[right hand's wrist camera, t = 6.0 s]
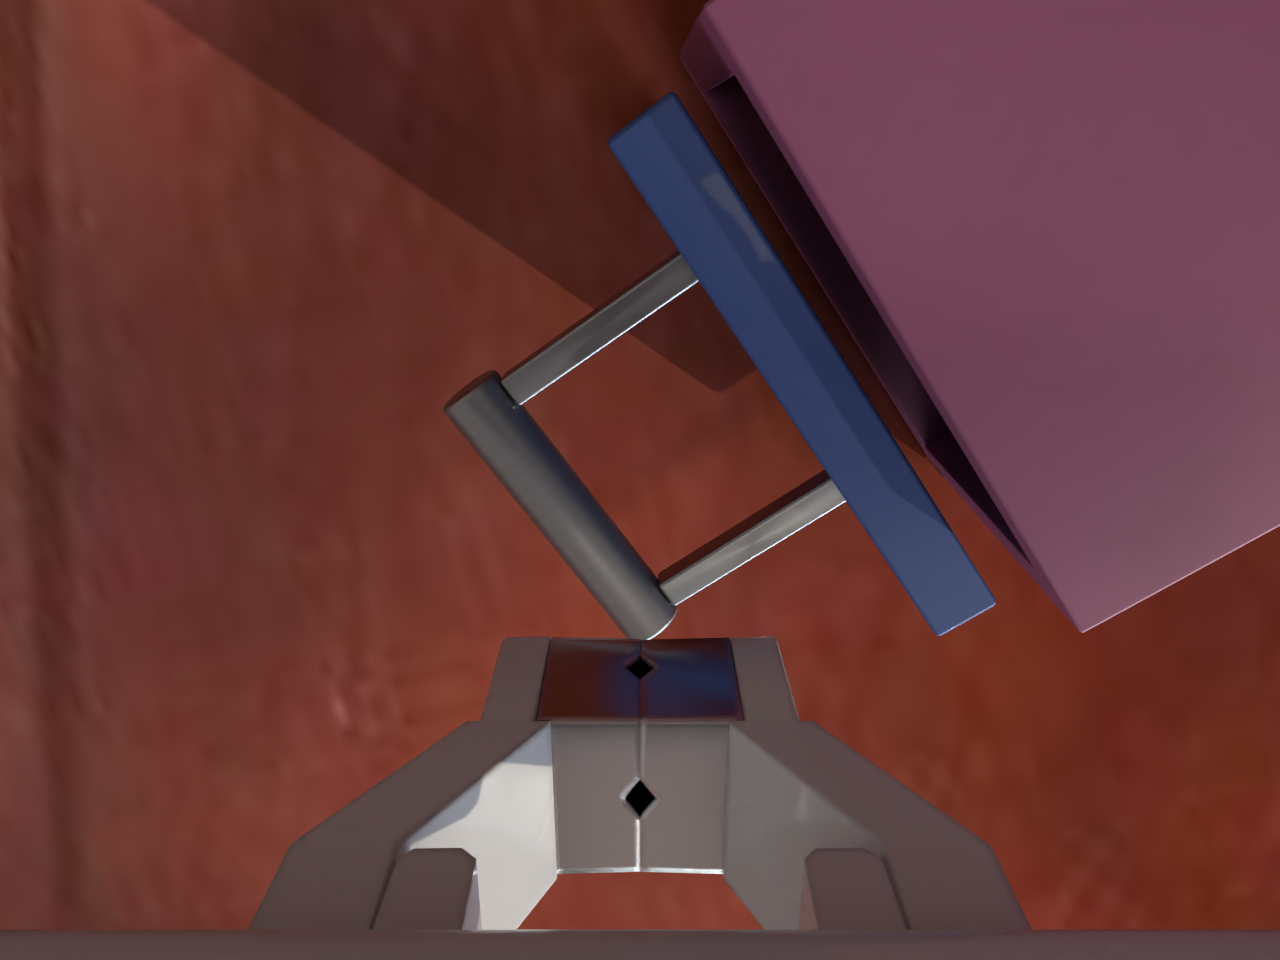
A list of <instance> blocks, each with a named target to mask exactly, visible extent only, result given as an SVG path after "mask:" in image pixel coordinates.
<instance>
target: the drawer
mask: <svg viewBox="0 0 1280 960" xmlns="http://www.w3.org/2000/svg"><path fill="white" fill-rule="evenodd" d="M749 100H750V99H749ZM750 102H751V101H750ZM752 105H753V104H752ZM753 107H754V106H753ZM755 110H756V109H755ZM756 112H757V111H756ZM757 113H758V112H757ZM758 115H759V114H758ZM759 117H760V116H759ZM760 118H761V117H760ZM761 120H762V119H761ZM763 123H764V122H763ZM764 125H765V124H764ZM766 128H767V127H766ZM767 130H768V129H767ZM769 133H770V132H769ZM770 135H771V134H770ZM772 138H773V137H772ZM773 140H774V139H773ZM607 142H608V146H609V148H610V149H611V151H612V152H613V154H614V155H615V157H616V158H617V160H618V161H619V163H620V164H621V166H622V167H623V169H624V170H625V171H626V173H627V174H628V176H629V177H630V179H631V180H632V182H633V183H634V185H635V186H636V188H637V189H638V191H639V192H640V194H641V195H642V197H643V198H644V200H645V201H646V203H647V204H648V206H649V207H650V209H651V210H652V212H653V213H654V215H655V216H656V218H657V219H658V221H659V222H660V224H661V225H662V227H663V228H664V230H665V231H666V233H667V234H668V236H669V237H670V239H671V240H672V242H673V243H674V245H675V246H676V248H677V249H678V251H676V252H675V253H674V254H672V255H671V256H669V257H668V258H667V259H665V260H664V261H662V262H661V263H660V264H658V265H657V266H655V267H654V268H652V269H651V270H650V271H648V272H647V273H645V274H644V275H643V276H641V277H640V278H638V279H637V280H636V281H634V282H633V283H631V284H630V285H629V286H627V287H626V288H624V289H623V290H621V291H620V292H619V293H617V294H616V295H614V296H613V297H612V298H610V299H609V300H607V301H606V302H605V303H603V304H602V305H600V306H599V307H598V308H596V309H595V310H593V311H592V312H590V313H589V314H588V315H586V316H585V317H583V318H582V319H581V320H579V321H578V322H576V323H575V324H574V325H572V326H571V327H569V328H568V329H567V330H565V331H564V332H562V333H561V334H559V335H558V336H557V337H555V338H554V339H552V340H551V341H550V342H548V343H547V344H545V345H544V346H543V347H541V348H540V349H538V350H537V351H536V352H534V353H533V354H531V355H530V356H528V357H527V358H526V359H524V360H523V361H521V362H520V363H519V364H517V365H516V366H514V367H513V368H512V369H510V370H509V371H507V372H506V373H505V374H504V376H503V378H502V377H501V376H500V375H499V373H498V372H496V371H495V370H491V371H488V372H486V373H484V374H482V375H481V376H479V377H478V378H476V379H475V380H473V381H472V382H470V383H469V384H468V385H466V386H465V387H464V388H463V389H461V390H460V391H459V392H458V393H456V394H455V395H454V396H453V397H452V398H451V399H450V400H449V401H448V402H447V403H446V404H445V406H444V408H443V409H444V413H445V414H446V415H447V416H448V418H449V419H450V420H451V421H452V422H453V424H454V425H455V426H456V427H457V429H458V430H459V431H460V432H461V434H462V435H463V436H464V437H465V439H466V440H467V441H468V442H469V443H470V445H471V446H472V447H473V448H474V450H475V451H476V452H477V453H478V455H479V456H480V457H481V458H482V460H483V461H484V462H485V463H486V464H487V466H488V467H489V468H490V469H491V471H492V472H493V473H494V474H495V476H496V477H497V478H498V479H499V481H500V482H501V483H502V484H503V485H504V487H505V488H506V489H507V490H508V492H509V493H510V494H511V495H512V497H513V498H514V499H515V500H516V502H517V503H518V504H519V505H520V507H521V508H522V509H523V510H524V511H525V513H526V514H527V515H528V516H529V518H530V519H531V520H532V521H533V523H534V524H535V525H536V526H537V528H538V529H539V530H540V531H541V532H542V534H543V535H544V536H545V537H546V539H547V540H548V541H549V542H550V544H551V545H552V546H553V547H554V549H555V550H556V551H557V552H558V553H559V555H560V556H561V557H562V558H563V560H564V561H565V562H566V563H567V565H568V566H569V567H570V568H571V570H572V571H573V572H574V573H575V574H576V576H577V577H578V578H579V579H580V581H581V582H582V583H583V584H584V586H585V587H586V588H587V589H588V591H589V592H590V593H591V594H592V595H593V597H594V598H595V599H596V600H597V602H598V603H599V604H600V605H601V607H602V608H603V609H604V610H605V612H606V613H607V614H608V615H609V616H610V618H611V619H612V620H613V621H614V623H615V624H616V625H617V626H618V628H619V629H620V630H621V631H622V633H623V634H624V635H625V636H626V637H627V639H640V640H650V639H652V638H654V637H655V636H657V635H658V634H660V633H661V632H662V631H663V630H664V629H665V628H666V627H667V626H668V625H669V624H670V623H671V622H672V620H673V619H674V617H675V615H676V613H677V605H678V604H679V603H681V602H683V601H684V600H686V599H688V598H689V597H691V596H692V595H694V594H696V593H697V592H699V591H701V590H702V589H704V588H705V587H707V586H709V585H710V584H712V583H714V582H715V581H717V580H719V579H720V578H722V577H723V576H725V575H727V574H728V573H730V572H732V571H733V570H735V569H736V568H738V567H740V566H741V565H743V564H745V563H746V562H748V561H750V560H751V559H753V558H754V557H756V556H758V555H759V554H761V553H763V552H764V551H766V550H768V549H769V548H771V547H772V546H774V545H776V544H777V543H779V542H781V541H782V540H784V539H785V538H787V537H789V536H790V535H792V534H794V533H795V532H797V531H799V530H800V529H802V528H803V527H805V526H807V525H808V524H810V523H812V522H813V521H815V520H816V519H818V518H820V517H821V516H823V515H825V514H826V513H828V512H830V511H831V510H833V509H834V508H836V507H838V506H839V505H841V504H843V503H844V502H847V503H848V505H849V506H850V508H851V509H852V511H853V512H854V514H855V515H856V517H857V518H858V520H859V521H860V523H861V524H862V526H863V527H864V529H865V530H866V532H867V533H868V535H869V536H870V538H871V539H872V541H873V542H874V544H875V545H876V547H877V548H878V550H879V551H880V553H881V554H882V556H883V557H884V559H885V560H886V562H887V563H888V565H889V566H890V567H891V569H892V570H893V572H894V573H895V575H896V576H897V578H898V579H899V581H900V582H901V584H902V585H903V587H904V588H905V590H906V591H907V593H908V594H909V596H910V597H911V599H912V600H913V602H914V603H915V605H916V606H917V608H918V609H919V611H920V612H921V614H922V615H923V617H924V618H925V620H926V621H927V623H928V624H929V626H930V627H931V629H932V630H933V632H934V633H935V634H936V635H938V636H941V635H943V634H945V633H947V632H948V631H950V630H952V629H954V628H955V627H957V626H959V625H961V624H963V623H964V622H966V621H968V620H970V619H971V618H973V617H975V616H977V615H978V614H980V613H982V612H984V611H986V610H987V609H989V608H991V607H993V606H994V605H995V604H996V600H995V598H994V596H993V595H992V593H991V591H990V590H989V588H988V587H987V585H986V583H985V582H984V580H983V579H982V577H981V576H980V574H979V572H978V571H977V569H976V568H975V566H974V565H973V563H972V561H971V560H970V558H969V557H968V555H967V553H966V552H965V550H964V549H963V547H962V546H961V544H960V542H959V541H958V539H957V538H956V536H955V534H954V533H953V531H952V530H951V528H950V527H949V525H948V523H947V522H946V520H945V519H944V517H943V515H942V514H941V512H940V511H939V509H938V508H937V506H936V504H935V503H934V501H933V500H932V498H931V496H930V495H929V493H928V492H927V490H926V489H925V487H924V485H923V484H922V482H921V481H920V479H919V477H918V476H917V474H916V473H915V471H914V470H913V468H912V466H911V465H910V463H909V462H908V460H907V459H906V457H905V455H904V454H903V452H902V451H901V449H900V447H899V446H898V444H897V443H896V441H895V440H894V438H893V436H892V435H891V433H890V432H889V430H888V428H887V427H886V425H885V424H884V422H883V421H882V419H881V417H880V416H879V414H878V413H877V411H876V409H875V408H874V406H873V405H872V403H871V402H870V400H869V398H868V397H867V395H866V394H865V392H864V390H863V389H862V387H861V386H860V384H859V383H858V381H857V379H856V378H855V376H854V375H853V373H852V372H851V370H850V368H849V367H848V365H847V364H846V362H845V360H844V359H843V357H842V356H841V354H840V353H839V351H838V349H837V348H836V346H835V345H834V343H833V341H832V340H831V338H830V337H829V335H828V334H827V332H826V330H825V329H824V327H823V326H822V324H821V322H820V321H819V319H818V318H817V316H816V315H815V313H814V311H813V310H812V308H811V307H810V305H809V303H808V302H807V300H806V299H805V297H804V296H803V294H802V292H801V291H800V289H799V288H798V286H797V284H796V283H795V281H794V280H793V278H792V277H791V275H790V273H789V272H788V270H787V269H786V267H785V266H784V264H783V262H782V261H781V259H780V258H779V256H778V254H777V253H776V251H775V250H774V248H773V247H772V245H771V243H770V242H769V240H768V239H767V237H766V235H765V234H764V232H763V231H762V229H761V228H760V226H759V224H758V223H757V221H756V220H755V218H754V216H753V215H752V213H751V212H750V210H749V209H748V207H747V205H746V204H745V202H744V201H743V199H742V197H741V196H740V194H739V193H738V191H737V190H736V188H735V186H734V185H733V183H732V182H731V180H730V178H729V177H728V175H727V174H726V172H725V171H724V169H723V167H722V166H721V164H720V163H719V161H718V160H717V158H716V156H715V155H714V153H713V152H712V150H711V148H710V147H709V145H708V144H707V142H706V141H705V139H704V137H703V136H702V134H701V133H700V131H699V129H698V128H697V126H696V125H695V123H694V122H693V120H692V118H691V117H690V115H689V114H688V112H687V110H686V109H685V107H684V106H683V104H682V103H681V101H680V99H679V98H678V96H677V95H676V94H675V93H673V92H671V93H668V94H667V95H665V96H664V97H663V98H661V99H660V100H659V101H657V102H656V103H655V104H653V105H652V106H651V107H649V108H648V109H647V110H645V111H644V112H643V113H642V114H640V115H639V116H638V117H636V118H635V119H634V120H632V121H631V122H630V123H628V124H627V125H626V126H624V127H623V128H622V129H620V130H619V131H618V132H616V133H615V134H614V135H612V136H611V137H610V138H609V140H608V141H607ZM775 143H776V142H775ZM776 145H777V144H776ZM777 146H778V145H777ZM778 148H779V147H778ZM780 151H781V150H780ZM781 153H782V152H781ZM783 156H784V155H783ZM784 158H785V157H784ZM786 161H787V160H786ZM787 163H788V162H787ZM789 166H790V165H789ZM790 168H791V167H790ZM792 171H793V170H792ZM793 173H794V172H793ZM794 174H795V173H794ZM795 176H796V175H795ZM797 179H798V178H797ZM798 181H799V180H798ZM800 184H801V183H800ZM801 186H802V185H801ZM803 189H804V188H803ZM804 191H805V190H804ZM806 194H807V193H806ZM807 196H808V195H807ZM809 199H810V198H809ZM810 201H811V200H810ZM812 204H813V203H812ZM814 207H815V206H814ZM815 209H816V208H815ZM817 212H818V211H817ZM818 214H819V213H818ZM820 217H821V216H820ZM821 219H822V218H821ZM823 222H824V221H823ZM824 224H825V223H824ZM826 227H827V226H826ZM827 229H828V228H827ZM829 232H830V231H829ZM830 234H831V233H830ZM831 235H832V234H831ZM832 237H833V236H832ZM834 240H835V239H834ZM835 242H836V241H835ZM837 245H838V244H837ZM838 247H839V246H838ZM840 250H841V249H840ZM841 252H842V251H841ZM843 255H844V254H843ZM844 257H845V256H844ZM846 260H847V259H846ZM847 262H848V261H847ZM848 263H849V262H848ZM849 265H850V264H849ZM851 268H852V267H851ZM852 270H853V269H852ZM854 273H855V272H854ZM855 275H856V274H855ZM857 278H858V277H857ZM858 280H859V279H858ZM698 282H700V284H701V285H702V287H703V288H704V290H705V291H706V293H707V294H708V296H709V297H710V299H711V300H712V302H713V303H714V304H715V306H716V307H717V309H718V310H719V312H720V313H721V315H722V316H723V318H724V319H725V321H726V322H727V324H728V325H729V327H730V328H731V330H732V331H733V333H734V334H735V336H736V337H737V339H738V340H739V342H740V343H741V345H742V346H743V348H744V349H745V351H746V352H747V354H748V355H749V357H750V358H751V360H752V361H753V363H754V364H755V366H756V367H757V369H758V370H759V372H760V373H761V375H762V376H763V378H764V379H765V381H766V382H767V384H768V385H769V387H770V388H771V390H772V391H773V393H774V394H775V396H776V397H777V399H778V400H779V402H780V403H781V405H782V406H783V408H784V409H785V411H786V412H787V414H788V415H789V417H790V418H791V420H792V421H793V423H794V424H795V426H796V427H797V429H798V430H799V432H800V433H801V434H802V436H803V437H804V439H805V440H806V442H807V443H808V445H809V446H810V448H811V449H812V451H813V452H814V454H815V455H816V457H817V458H818V460H819V461H820V463H821V464H822V466H823V467H824V469H825V470H823V471H822V472H820V473H819V474H817V475H815V476H814V477H812V478H811V479H809V480H807V481H806V482H804V483H803V484H801V485H799V486H798V487H796V488H795V489H793V490H791V491H790V492H788V493H786V494H785V495H783V496H782V497H780V498H778V499H777V500H775V501H774V502H772V503H770V504H769V505H767V506H766V507H764V508H762V509H761V510H759V511H758V512H756V513H754V514H753V515H751V516H750V517H748V518H746V519H745V520H743V521H742V522H740V523H738V524H737V525H735V526H734V527H732V528H730V529H729V530H727V531H726V532H724V533H722V534H721V535H719V536H718V537H716V538H714V539H713V540H711V541H710V542H708V543H706V544H705V545H703V546H702V547H700V548H698V549H697V550H695V551H694V552H692V553H690V554H689V555H687V556H686V557H684V558H682V559H681V560H679V561H678V562H676V563H674V564H673V565H671V566H670V567H668V568H666V569H665V570H663V571H662V572H660V573H659V574H658V579H657V577H656V576H655V575H654V573H653V572H652V571H651V570H650V568H649V567H648V566H647V564H646V563H645V562H644V560H643V559H642V558H641V557H640V555H639V554H638V553H637V551H636V550H635V549H634V548H633V546H632V545H631V544H630V542H629V541H628V540H627V539H626V537H625V536H624V535H623V533H622V532H621V531H620V530H619V528H618V527H617V526H616V524H615V523H614V522H613V520H612V519H611V518H610V517H609V515H608V514H607V513H606V511H605V510H604V509H603V508H602V506H601V505H600V504H599V502H598V501H597V500H596V499H595V497H594V496H593V495H592V493H591V492H590V491H589V490H588V488H587V487H586V486H585V484H584V483H583V482H582V480H581V479H580V478H579V477H578V475H577V474H576V473H575V471H574V470H573V469H572V468H571V466H570V465H569V464H568V462H567V461H566V460H565V459H564V457H563V456H562V455H561V453H560V452H559V451H558V449H557V448H556V447H555V446H554V444H553V443H552V442H551V440H550V439H549V438H548V437H547V435H546V434H545V433H544V431H543V430H542V429H541V428H540V426H539V425H538V424H537V422H536V421H535V420H534V419H533V417H532V416H531V415H530V413H529V412H528V411H527V409H526V408H525V407H524V406H523V404H524V403H525V402H527V401H528V400H530V399H531V398H533V397H534V396H536V395H537V394H538V393H540V392H541V391H543V390H544V389H546V388H547V387H548V386H550V385H551V384H553V383H554V382H556V381H557V380H558V379H560V378H561V377H563V376H564V375H566V374H567V373H569V372H570V371H571V370H573V369H574V368H576V367H577V366H579V365H580V364H581V363H583V362H584V361H586V360H587V359H589V358H590V357H591V356H593V355H594V354H596V353H597V352H599V351H600V350H602V349H603V348H604V347H606V346H607V345H609V344H610V343H612V342H613V341H614V340H616V339H617V338H619V337H620V336H622V335H623V334H624V333H626V332H627V331H629V330H630V329H632V328H633V327H635V326H636V325H637V324H639V323H640V322H642V321H643V320H645V319H646V318H647V317H649V316H650V315H652V314H653V313H655V312H656V311H657V310H659V309H660V308H662V307H663V306H665V305H666V304H668V303H669V302H670V301H672V300H673V299H675V298H676V297H678V296H679V295H680V294H682V293H683V292H685V291H686V290H688V289H689V288H690V287H692V286H693V285H695V284H696V283H698ZM860 283H861V282H860ZM861 285H862V284H861ZM863 288H864V287H863ZM864 290H865V289H864ZM866 293H867V292H866ZM868 296H869V295H868ZM869 298H870V297H869ZM871 301H872V300H871ZM872 303H873V302H872ZM874 306H875V305H874ZM875 308H876V307H875ZM877 311H878V310H877ZM878 313H879V312H878ZM880 316H881V315H880ZM881 318H882V317H881ZM883 321H884V320H883ZM885 324H886V323H885ZM886 326H887V325H886ZM888 329H889V328H888ZM889 331H890V330H889ZM891 334H892V333H891ZM892 336H893V335H892ZM894 339H895V338H894ZM895 341H896V340H895ZM897 344H898V343H897ZM898 346H899V345H898ZM900 349H901V348H900ZM901 351H902V350H901ZM902 352H903V351H902ZM903 354H904V353H903ZM905 357H906V356H905ZM906 359H907V358H906ZM908 362H909V361H908ZM909 364H910V363H909ZM911 367H912V366H911ZM912 369H913V368H912ZM914 372H915V371H914ZM915 374H916V373H915ZM917 377H918V376H917ZM918 379H919V378H918ZM920 382H921V381H920ZM922 385H923V384H922ZM923 387H924V386H923ZM925 390H926V389H925ZM926 392H927V391H926ZM928 395H929V394H928ZM929 397H930V396H929ZM931 400H932V399H931ZM932 402H933V401H932ZM934 405H935V404H934ZM935 407H936V406H935ZM937 410H938V409H937ZM939 413H940V412H939ZM940 415H941V414H940ZM942 418H943V417H942Z"/></svg>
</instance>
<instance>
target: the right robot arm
mask: <svg viewBox="0 0 1280 960" xmlns="http://www.w3.org/2000/svg"><path fill="white" fill-rule="evenodd" d="M637 871H640V872H676V873H713V874H723V878H724V879H725V881H726V882H727V883H728V884H729V886H730V887H731V888H732V889H733V891H734V892H735V893H736V894H737V896H738V897H739V898H740V900H741V901H742V902H743V903H744V905H745V906H746V907H747V908H748V910H749V911H750V912H751V913H752V915H753V916H754V917H755V918H756V920H757V921H758V922H759V924H760V925H761V926H762V927H763V929H764V930H516V929H517V928H518V927H519V926H520V924H521V923H522V922H523V920H524V919H525V918H526V917H527V915H528V914H529V913H530V912H531V910H532V909H533V908H534V907H535V905H536V904H537V903H538V902H539V900H540V899H541V898H542V897H543V895H544V894H545V893H546V892H547V890H548V889H549V888H550V887H551V885H552V884H553V883H554V882H555V880H556V879H557V874H567V873H602V872H637ZM0 960H1280V930H1259V929H1126V930H1032V929H1031V927H1030V925H1029V922H1028V920H1027V918H1026V916H1025V914H1024V912H1023V910H1022V908H1021V906H1020V904H1019V902H1018V900H1017V898H1016V896H1015V894H1014V892H1013V890H1012V888H1011V886H1010V884H1009V882H1008V880H1007V878H1006V876H1005V874H1004V872H1003V870H1002V868H1001V865H1000V863H999V861H998V859H997V857H996V855H995V853H994V851H993V849H992V847H991V845H989V844H988V843H986V842H985V841H983V840H982V839H981V838H979V837H978V836H976V835H975V834H973V833H972V832H971V831H969V830H968V829H966V828H965V827H963V826H962V825H961V824H959V823H958V822H956V821H955V820H953V819H952V818H951V817H949V816H948V815H946V814H945V813H943V812H942V811H941V810H939V809H938V808H936V807H935V806H933V805H932V804H931V803H929V802H928V801H926V800H925V799H923V798H922V797H921V796H919V795H918V794H916V793H915V792H913V791H912V790H911V789H909V788H908V787H906V786H905V785H903V784H902V783H901V782H899V781H898V780H896V779H895V778H893V777H892V776H891V775H889V774H888V773H886V772H885V771H883V770H882V769H880V768H879V767H878V766H876V765H875V764H873V763H872V762H870V761H869V760H868V759H866V758H865V757H863V756H862V755H860V754H859V753H858V752H856V751H855V750H853V749H852V748H850V747H849V746H848V745H846V744H845V743H843V742H842V741H840V740H839V739H838V738H836V737H835V736H833V735H832V734H830V733H829V732H828V731H826V730H825V729H823V728H822V727H820V726H819V725H818V724H816V723H815V722H813V721H800V720H799V717H798V713H797V709H796V706H795V702H794V699H793V695H792V691H791V688H790V684H789V681H788V677H787V673H786V670H785V666H784V663H783V659H782V655H781V652H780V648H779V645H778V641H777V639H775V638H774V637H773V636H765V637H742V638H693V639H652V640H640V639H616V638H563V637H552V639H550V638H549V637H548V636H547V637H507V638H506V639H505V640H504V641H503V642H502V644H501V647H500V651H499V654H498V658H497V662H496V665H495V669H494V673H493V676H492V680H491V684H490V687H489V691H488V695H487V698H486V702H485V706H484V709H483V713H482V717H481V720H480V721H467V722H465V723H464V724H462V725H461V726H460V727H458V728H457V729H455V730H454V731H452V732H451V733H450V734H448V735H447V736H445V737H444V738H442V739H441V740H439V741H438V742H437V743H435V744H434V745H432V746H431V747H429V748H428V749H427V750H425V751H424V752H422V753H421V754H419V755H418V756H416V757H415V758H414V759H412V760H411V761H409V762H408V763H406V764H405V765H404V766H402V767H401V768H399V769H398V770H396V771H395V772H394V773H392V774H391V775H389V776H388V777H386V778H385V779H383V780H382V781H381V782H379V783H378V784H376V785H375V786H373V787H372V788H371V789H369V790H368V791H366V792H365V793H363V794H362V795H360V796H359V797H358V798H356V799H355V800H353V801H352V802H350V803H349V804H348V805H346V806H345V807H343V808H342V809H340V810H339V811H337V812H336V813H335V814H333V815H332V816H330V817H329V818H327V819H326V820H325V821H323V822H322V823H320V824H319V825H317V826H316V827H314V828H313V829H312V830H310V831H309V832H307V833H306V834H304V835H303V836H302V837H300V838H299V839H297V840H296V841H294V842H293V843H291V844H290V846H289V848H288V850H287V852H286V854H285V856H284V858H283V860H282V862H281V864H280V866H279V868H278V870H277V872H276V874H275V876H274V878H273V880H272V882H271V884H270V886H269V888H268V890H267V892H266V894H265V896H264V898H263V900H262V902H261V904H260V906H259V908H258V910H257V912H256V914H255V916H254V918H253V920H252V923H251V925H250V927H249V929H248V930H0Z"/></svg>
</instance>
